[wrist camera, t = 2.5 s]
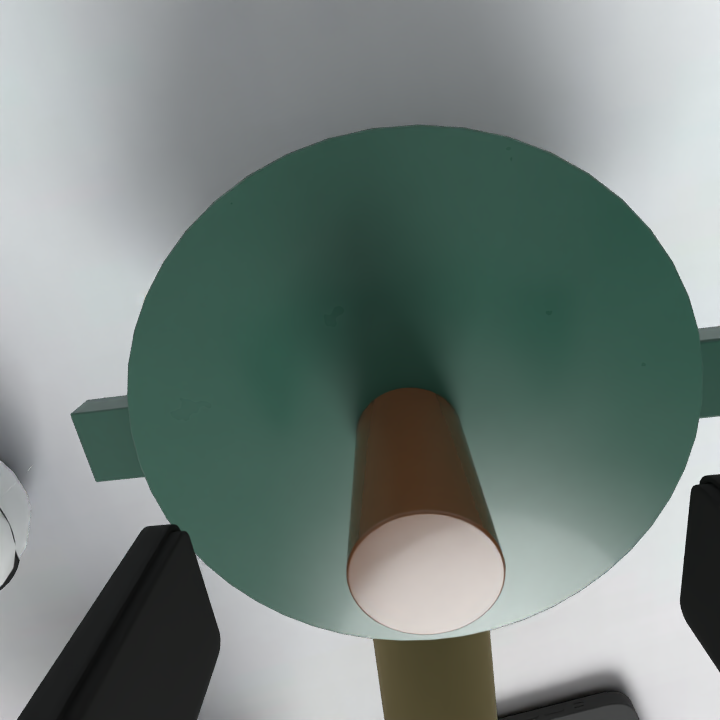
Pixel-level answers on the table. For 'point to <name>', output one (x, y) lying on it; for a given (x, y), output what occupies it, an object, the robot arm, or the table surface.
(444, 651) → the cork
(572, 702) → the phone
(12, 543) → the white rounded upright piece
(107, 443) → the pot
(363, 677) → the table surface
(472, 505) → the lid
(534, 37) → the table surface
